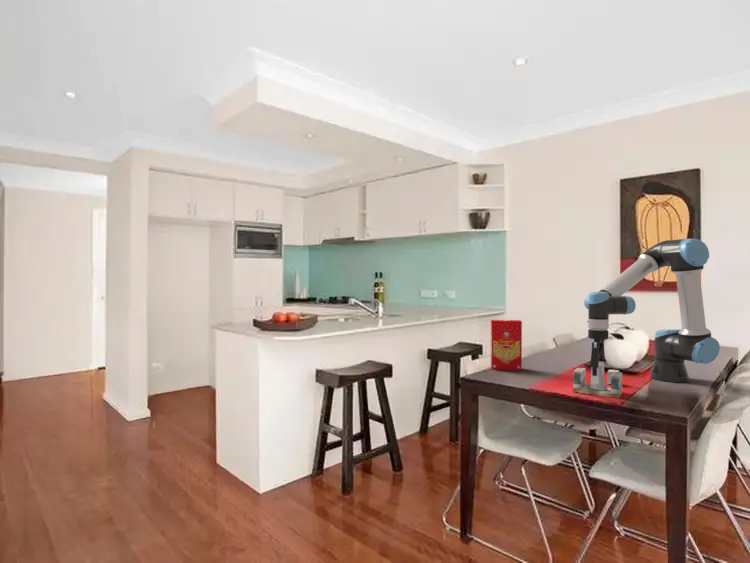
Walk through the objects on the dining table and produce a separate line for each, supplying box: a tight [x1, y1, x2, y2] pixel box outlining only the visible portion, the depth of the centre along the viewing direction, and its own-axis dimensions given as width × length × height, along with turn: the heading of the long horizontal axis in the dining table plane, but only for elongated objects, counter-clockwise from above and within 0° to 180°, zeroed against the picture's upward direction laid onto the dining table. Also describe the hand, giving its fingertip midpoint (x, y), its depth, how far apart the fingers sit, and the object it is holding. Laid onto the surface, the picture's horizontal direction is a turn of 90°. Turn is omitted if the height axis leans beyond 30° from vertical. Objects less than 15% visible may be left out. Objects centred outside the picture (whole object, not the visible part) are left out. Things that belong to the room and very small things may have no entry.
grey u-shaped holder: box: [572, 367, 623, 399], centre depth 188 cm, size 17×10×9 cm, turn 55°
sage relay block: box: [606, 369, 620, 385], centre depth 202 cm, size 4×5×6 cm
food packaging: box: [490, 319, 523, 371], centre depth 233 cm, size 15×5×25 cm, turn 82°
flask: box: [587, 364, 608, 390], centre depth 188 cm, size 7×7×10 cm
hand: (597, 380), depth 188 cm, fingers open, 13 cm apart
